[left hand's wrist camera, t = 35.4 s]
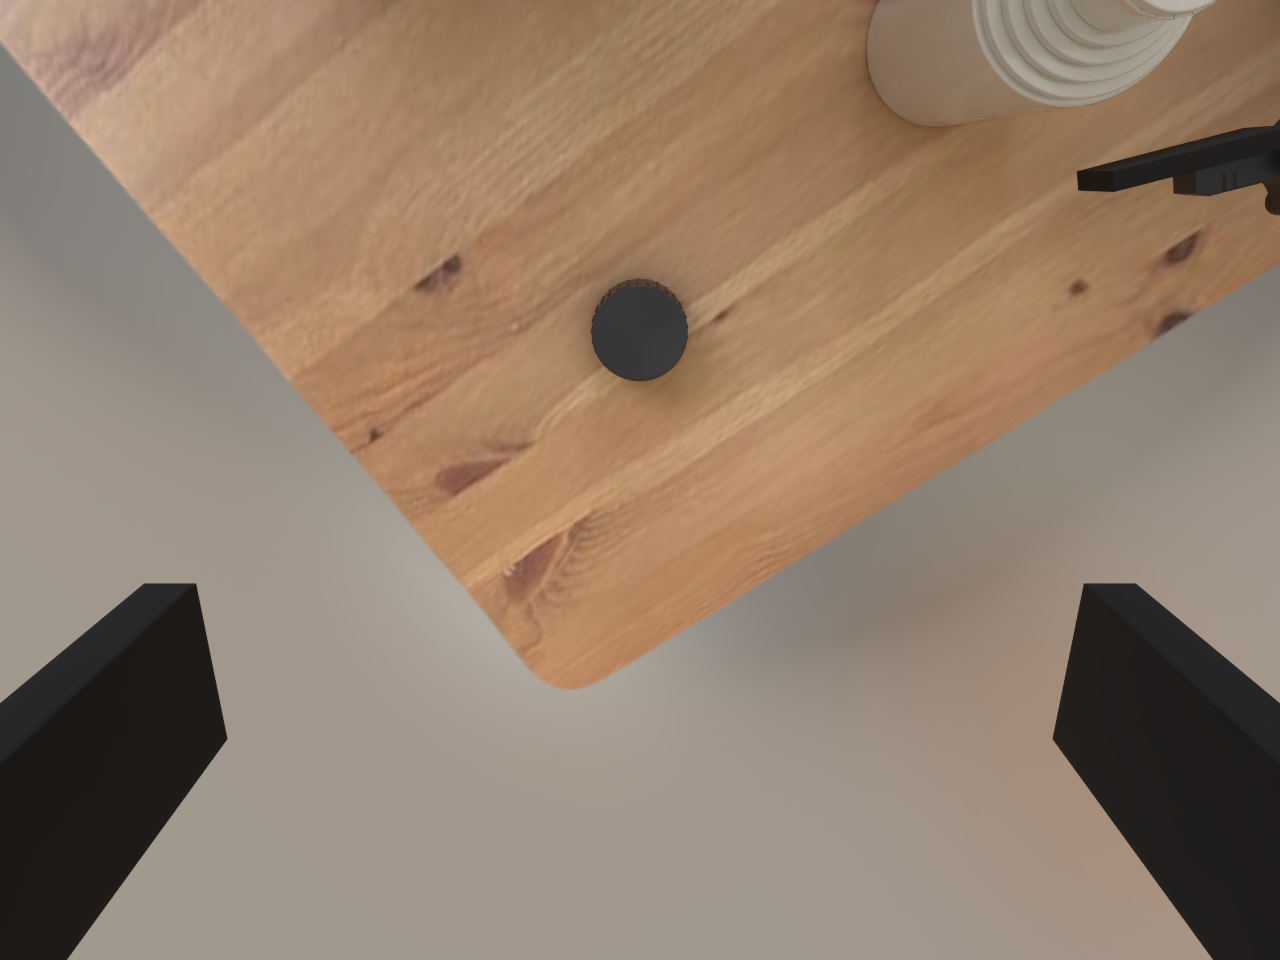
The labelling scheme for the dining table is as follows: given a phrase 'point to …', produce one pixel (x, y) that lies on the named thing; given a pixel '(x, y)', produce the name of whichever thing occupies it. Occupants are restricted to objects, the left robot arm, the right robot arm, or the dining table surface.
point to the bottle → (1015, 54)
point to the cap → (639, 330)
